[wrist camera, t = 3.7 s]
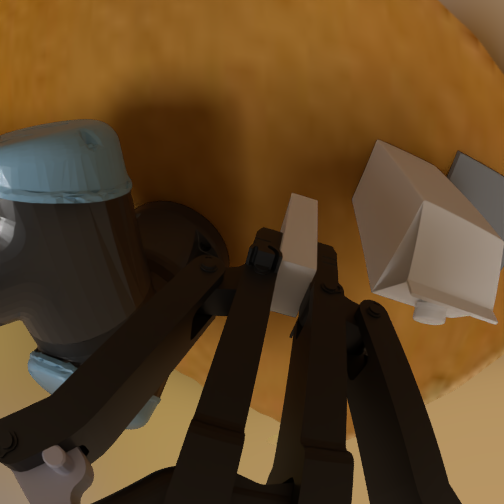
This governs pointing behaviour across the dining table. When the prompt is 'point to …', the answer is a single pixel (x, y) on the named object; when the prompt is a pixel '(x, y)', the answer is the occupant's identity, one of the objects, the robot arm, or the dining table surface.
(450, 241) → the milk carton
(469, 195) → the mat
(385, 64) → the dining table surface
